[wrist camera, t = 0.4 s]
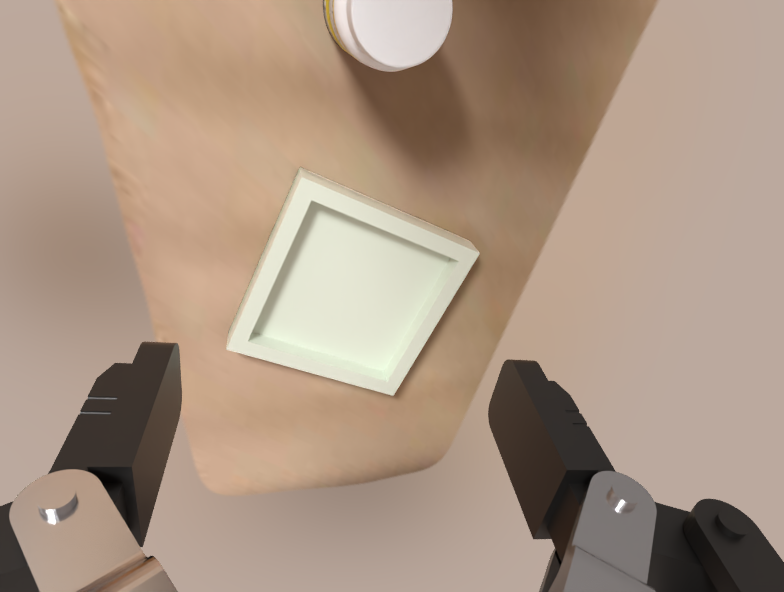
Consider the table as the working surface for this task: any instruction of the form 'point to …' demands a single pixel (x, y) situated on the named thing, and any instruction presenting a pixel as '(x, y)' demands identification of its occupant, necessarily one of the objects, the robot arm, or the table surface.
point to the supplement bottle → (389, 30)
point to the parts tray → (348, 286)
